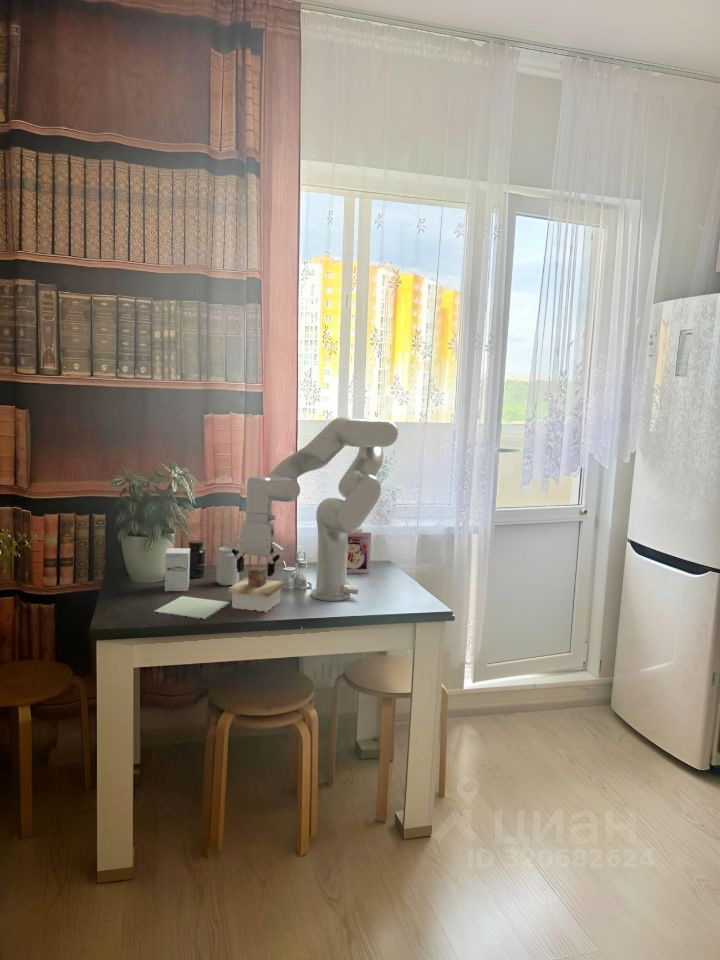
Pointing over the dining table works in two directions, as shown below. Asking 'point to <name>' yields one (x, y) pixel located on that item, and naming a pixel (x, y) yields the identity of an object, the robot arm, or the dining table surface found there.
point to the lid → (256, 584)
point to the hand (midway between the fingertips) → (255, 573)
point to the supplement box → (177, 569)
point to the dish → (255, 601)
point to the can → (226, 567)
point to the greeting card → (358, 552)
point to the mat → (192, 607)
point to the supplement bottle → (197, 559)
